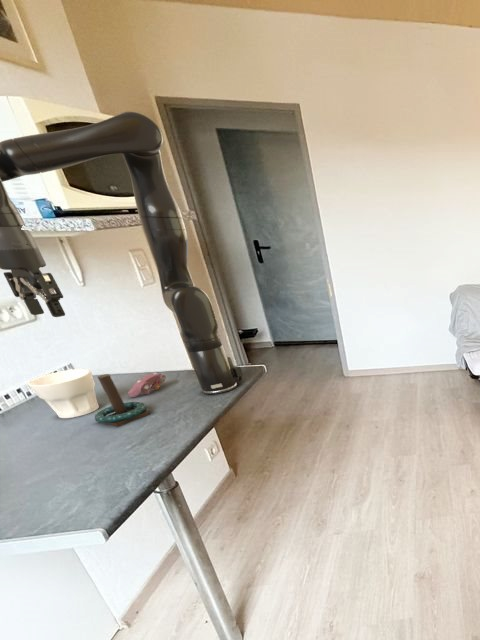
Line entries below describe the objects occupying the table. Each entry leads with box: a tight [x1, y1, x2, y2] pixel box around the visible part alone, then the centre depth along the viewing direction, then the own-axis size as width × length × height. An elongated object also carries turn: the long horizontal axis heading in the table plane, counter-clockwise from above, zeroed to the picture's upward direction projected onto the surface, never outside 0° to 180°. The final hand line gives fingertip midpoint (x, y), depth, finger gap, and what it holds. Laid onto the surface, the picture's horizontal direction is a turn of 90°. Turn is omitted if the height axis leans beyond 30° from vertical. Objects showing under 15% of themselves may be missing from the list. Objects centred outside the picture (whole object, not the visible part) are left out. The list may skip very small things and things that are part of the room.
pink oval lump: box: [128, 372, 167, 398], centre depth 132 cm, size 10×5×7 cm, turn 179°
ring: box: [94, 401, 147, 423], centre depth 116 cm, size 11×11×2 cm
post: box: [97, 373, 151, 428], centre depth 114 cm, size 8×8×13 cm
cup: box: [27, 368, 100, 419], centre depth 118 cm, size 12×12×11 cm
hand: (48, 315), depth 104 cm, fingers open, 8 cm apart
